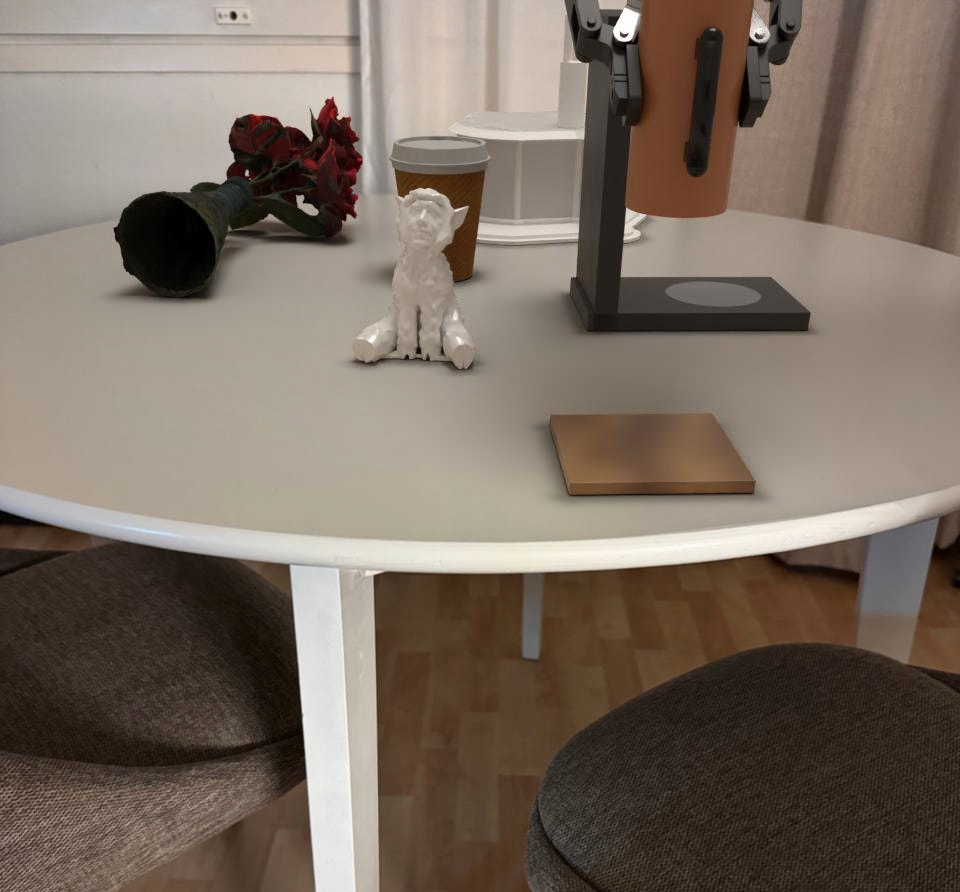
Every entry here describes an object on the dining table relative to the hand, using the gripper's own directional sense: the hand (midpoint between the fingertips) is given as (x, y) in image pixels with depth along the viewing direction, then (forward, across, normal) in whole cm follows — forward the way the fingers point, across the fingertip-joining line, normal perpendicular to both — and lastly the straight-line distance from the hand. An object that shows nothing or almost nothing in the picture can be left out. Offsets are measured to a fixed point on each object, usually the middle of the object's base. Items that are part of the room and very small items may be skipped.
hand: (692, 116), depth 59 cm
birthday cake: (-35, -2, +63) cm, 72 cm away
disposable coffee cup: (-17, -14, +44) cm, 49 cm away
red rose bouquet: (-22, -33, +50) cm, 64 cm away
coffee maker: (-8, +8, +35) cm, 37 cm away
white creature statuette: (0, -15, +27) cm, 31 cm away
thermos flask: (+2, 0, +5) cm, 5 cm away
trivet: (+15, -1, +12) cm, 19 cm away
